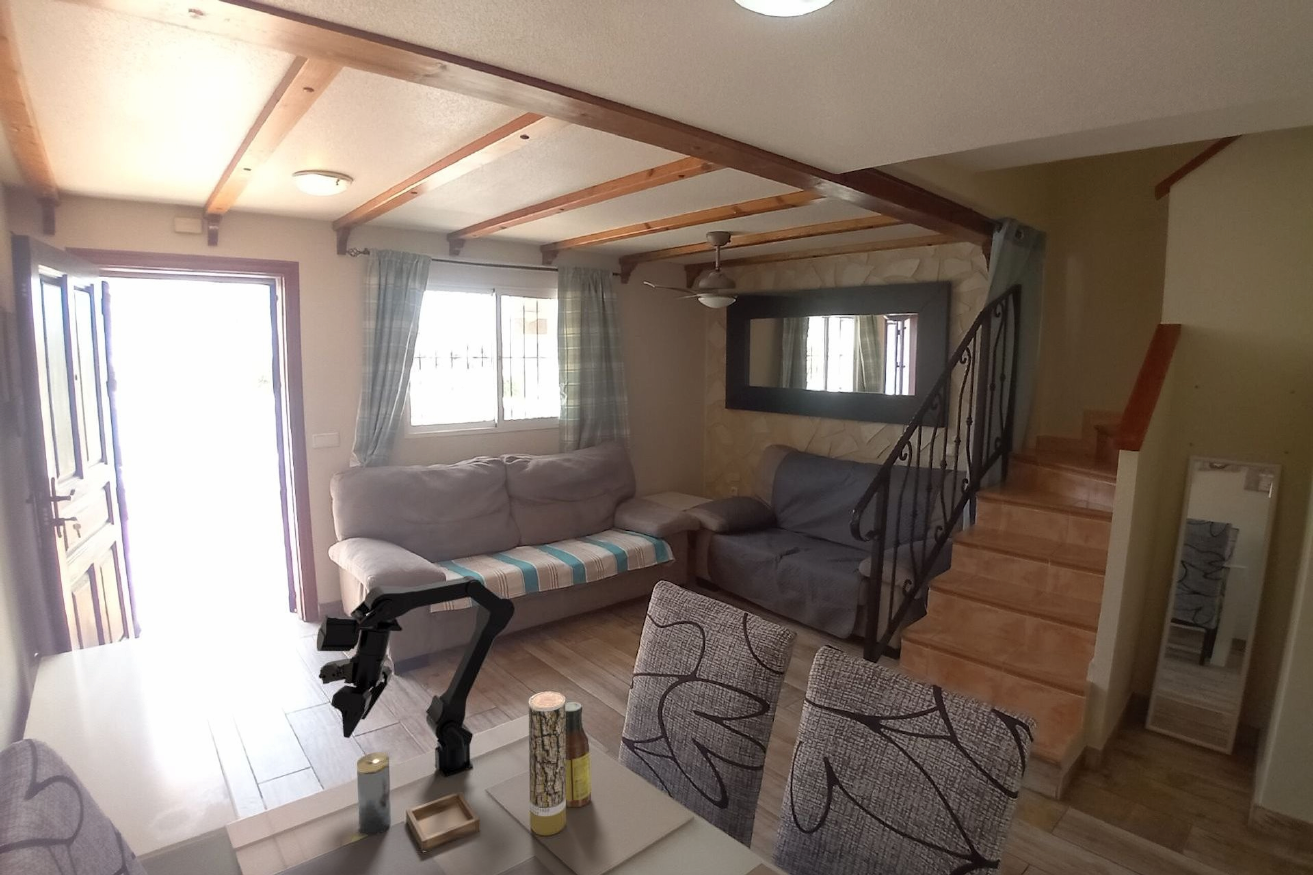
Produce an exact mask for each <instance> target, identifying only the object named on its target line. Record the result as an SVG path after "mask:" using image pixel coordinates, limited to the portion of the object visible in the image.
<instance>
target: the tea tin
mask: <svg viewBox="0 0 1313 875" xmlns="http://www.w3.org/2000/svg"><path fill="white" fill-rule="evenodd" d="M356 775H357V776H356V777H357V779H356V780H357V802H358V804H357V806H358V830H359V833H360V834H361V835H363V836H375V834H376V835H379V834H381V833H383V832H385V831H386V830H388V828H390V827H391V824H392V818H391V817H392V812H391V811H392V810H391V783H390V782H391V781H390V780H391V778H390V756H389V755H388V754H387V753H385V752H380V751H379V752H378V751H377V752H372V753H368V754H366V755H364V756H361V757H360V758H359V759H358V760H357V763H356ZM384 830H385V831H384ZM382 831H383V832H382ZM378 833H379V834H378Z"/></svg>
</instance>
